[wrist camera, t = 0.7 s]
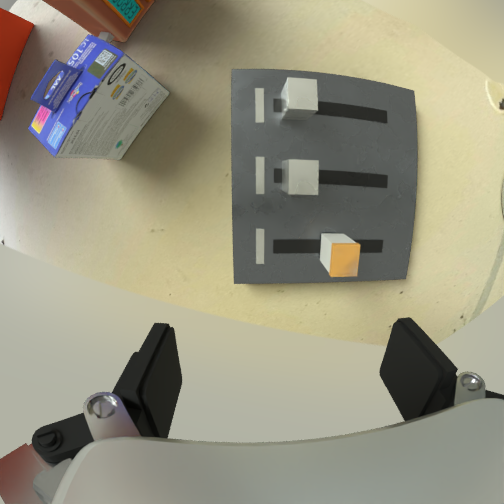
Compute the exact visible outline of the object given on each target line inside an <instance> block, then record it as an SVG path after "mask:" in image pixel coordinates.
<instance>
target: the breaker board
mask: <svg viewBox="0 0 504 504" xmlns="http://www.w3.org/2000/svg"><path fill="white" fill-rule="evenodd" d="M231 155H232V225H233V266H234V284H265V283H319V282H350V281H374V280H395V279H406V275H407V270H408V264H409V257H410V250H411V243H412V235H413V226H414V217H415V205H416V189H417V121H416V106H415V95H414V91H413V90H409V89H406V88H402V87H398V86H394V85H390V84H385V83H381V82H376V81H371V80H366V79H361V78H355V77H349V76H342V75H335V74H327V73H319V72H309V71H296V70H277V69H232V80H231ZM321 233H331V234H345V235H346V236H348V237H349V238H351V239H352V240H353V241H355V242H356V243H359V244H360V254H359V263H358V271H357V276H345V277H331V276H330V275H329V272H328V271H327V269H326V268H325V267H324V265H323V264H322V263H321V261H320V249H321Z"/></svg>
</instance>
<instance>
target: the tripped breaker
mask: <svg viewBox="0 0 504 504" xmlns="http://www.w3.org/2000/svg"><path fill="white" fill-rule="evenodd" d="M359 254H360V244H359V243H356V242H355V241H353V240H352V239H351V238H349V237H348V236H346V235H345V234H331V233H321V249H320V261H321V263H322V264H323V265H324V267H325V268H326V269H327V271H328V272H329V275H330V276H331V277H345V276H357V271H358V263H359Z"/></svg>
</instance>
